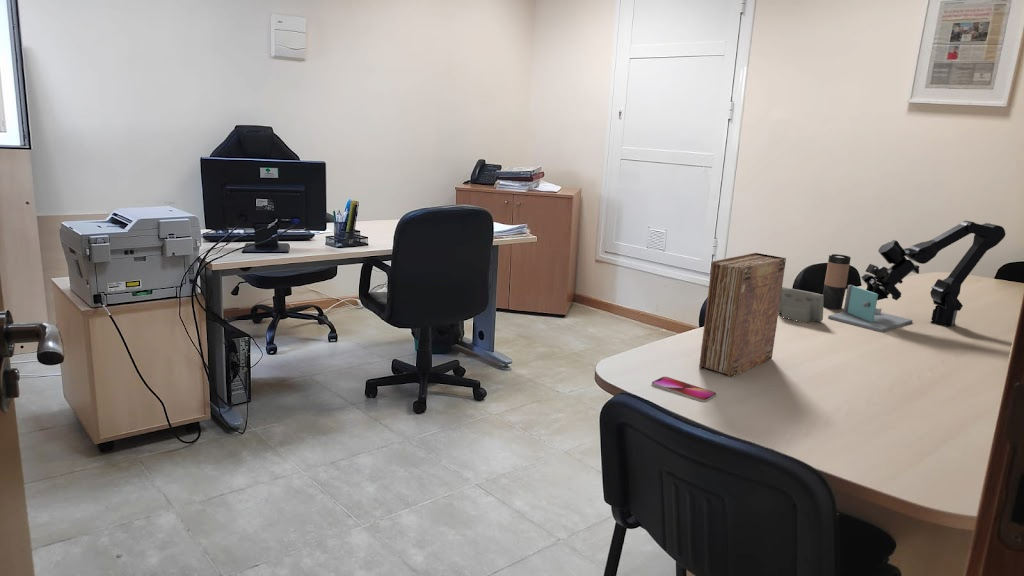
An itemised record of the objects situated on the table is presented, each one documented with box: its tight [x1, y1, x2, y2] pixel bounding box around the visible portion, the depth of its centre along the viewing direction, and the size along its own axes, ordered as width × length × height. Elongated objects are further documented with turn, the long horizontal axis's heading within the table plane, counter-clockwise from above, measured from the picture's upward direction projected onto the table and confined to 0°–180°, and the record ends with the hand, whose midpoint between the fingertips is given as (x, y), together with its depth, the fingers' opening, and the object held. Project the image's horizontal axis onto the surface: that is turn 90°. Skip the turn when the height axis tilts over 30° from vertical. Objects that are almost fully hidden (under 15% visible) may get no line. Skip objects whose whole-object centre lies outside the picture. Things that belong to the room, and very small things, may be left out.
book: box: [698, 252, 787, 378], centre depth 194 cm, size 25×9×30 cm, turn 135°
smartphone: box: [651, 376, 717, 403], centre depth 176 cm, size 7×1×15 cm
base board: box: [827, 307, 913, 333], centre depth 252 cm, size 19×24×3 cm
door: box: [843, 284, 878, 322], centre depth 251 cm, size 14×3×10 cm, turn 13°
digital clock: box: [778, 286, 824, 324], centre depth 249 cm, size 16×9×11 cm, turn 38°
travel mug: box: [822, 253, 852, 310], centre depth 267 cm, size 8×8×20 cm
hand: (861, 302), depth 251 cm, fingers closed
